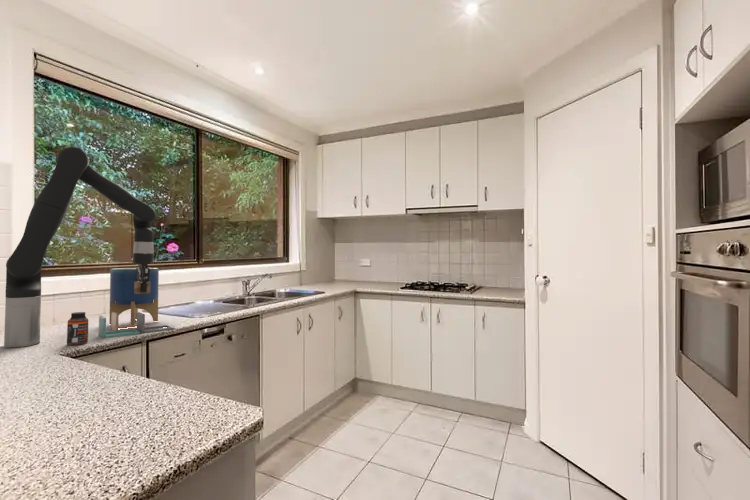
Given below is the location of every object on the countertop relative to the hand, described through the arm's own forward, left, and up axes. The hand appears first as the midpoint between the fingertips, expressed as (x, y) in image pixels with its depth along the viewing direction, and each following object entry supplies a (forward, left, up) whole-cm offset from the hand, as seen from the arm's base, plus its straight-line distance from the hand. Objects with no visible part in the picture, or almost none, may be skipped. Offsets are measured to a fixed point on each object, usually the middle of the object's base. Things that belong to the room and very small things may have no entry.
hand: (141, 291), depth 159 cm
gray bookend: (+4, -6, -17) cm, 18 cm away
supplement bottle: (-23, -13, -17) cm, 31 cm away
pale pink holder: (-3, +4, -17) cm, 18 cm away
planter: (+2, +20, -17) cm, 26 cm away
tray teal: (-9, -6, -17) cm, 20 cm away
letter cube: (0, 0, -1) cm, 1 cm away
